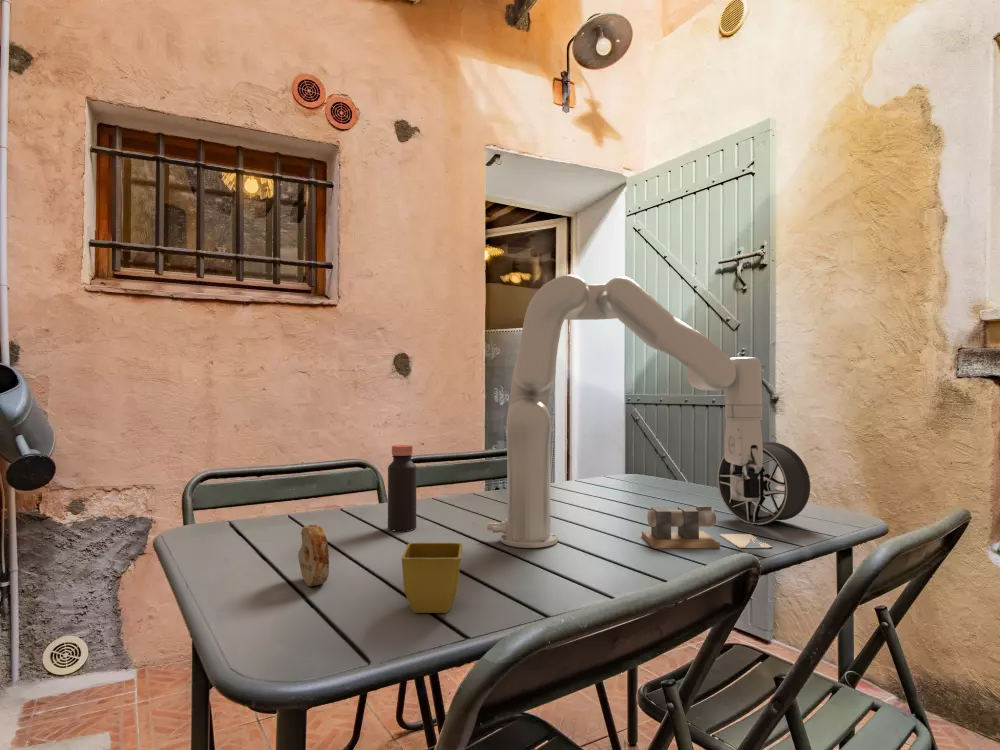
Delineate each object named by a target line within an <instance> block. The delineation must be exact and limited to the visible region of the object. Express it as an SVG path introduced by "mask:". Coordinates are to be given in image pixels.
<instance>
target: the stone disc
mask: <svg viewBox="0 0 1000 750" xmlns="http://www.w3.org/2000/svg"><path fill="white" fill-rule="evenodd" d="M300 535H301V548H300V549H299V550H298V553H297V554H298V556H297V557H298V564H299V568H300V573H301V577H302V579H303V580H304V583H305V582H306V583H307V584H306V583H305V584H306V585H307V586H308V587H315V586H319V585H322V584H324V583H326V582H327V580H328V579H329V575H330V555H329V554H330V553H329V547H328V546H329V545H328V540H327V536H326V532H325V530H324V528H323V526H321V525H318V524H308V525H305V526H303V527H302V528H301V532H300Z"/></svg>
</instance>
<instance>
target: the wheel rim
mask: <svg viewBox="0 0 1000 750" xmlns="http://www.w3.org/2000/svg"><path fill="white" fill-rule="evenodd" d="M762 444H763V454H765V455H766V456H767V457H769V458H768V459H766V460H763V461H762V463H763V465H764V464H765V463H770V462H771V461H774V462H775V464H774V467H773V469H772V470H771V474H769V473H765V472H766V469H765V467H764V466H763V467H762V469H761V472H760V501H754V502H747V501H737V500H733V499H731V488H730V475H731V473H730V468H731V467H730V465H729V462H727V461H726V460H725V458H724V455H723V456H722V458H721V460H720V462H719V465H718V468H717V474H716V475H717V476H716V477H717V478H716V480H717V488H718V492H719V496H720V497H721V500H722V502H723V503H724V505H725V507H726V508H727V510H728V511H729V512H730V513H731V514H732V515H733V516H734V517H735V518H737V519H738V520H740V521H741V522H744V523H746V522H747V523H746V524H749V523H752V524H751V525H753V524H757V525H756V526H760V525H761V526H762V525H767V524H770V523H774V522H775V521H785V520H790V519H792V518H795V517H796V516H798V515H799V514H800V513H801V512H802V511H803V510H804V509H805V507H806V506H807V504H808V501H809V499H810V494H811V479H810V475H809V472H808V471H809V470H808V469H807V466H806V464H805V463H804V461H803V459H802V458H801V457H800V456H799V455H798V454H797V453H796V452H795V451H794V450H793V449H791V448H790V447H789V446H787V445H785V444H782V443H779V442H776V441H774V442H773V441H766V442H765V441H764V442H762ZM747 464H750V463H747ZM748 469H749V471H750V469H751V468H748ZM777 469H780V472H781V474H782V477H783V482H782V481H779V480H777V479H775V478H774V476H775V473H776V471H777ZM764 473H765V474H764ZM744 474H745V473H744ZM771 483H772V484H774V485H777V486H781V487H784V490H776V489H775V490H771V486H770V485H771ZM774 495H783V499H782V502H781V504H780V506H778V504H777V501H776V500H775V497H774ZM766 497H770V499H771V501H772V504H773V506H774V508H775V511H774V512H773V511H772V510H770V509H769V508H767V506H764V505H763V504H764V502H765V501H766ZM762 509H763V510H762Z"/></svg>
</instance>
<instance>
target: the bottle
mask: <svg viewBox="0 0 1000 750" xmlns="http://www.w3.org/2000/svg"><path fill="white" fill-rule="evenodd" d="M391 455H392V456H391V457H392V458H393V459H392V462H391V463H390V464H389V465H388V467H387V529H388V530H389V529H390V530H389V531H391V530H395V531H394V532H396V531H405V532H408V531H407V530H411V529H414V528H415V529H417V466H416V464H415V463H414V462H413V461H412V457H413V445H412V444H395V445H392V446H391ZM415 529H414V530H415ZM411 531H412V530H411Z"/></svg>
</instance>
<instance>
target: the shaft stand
mask: <svg viewBox="0 0 1000 750" xmlns="http://www.w3.org/2000/svg"><path fill="white" fill-rule="evenodd" d="M695 507H696V508H694V507H692V506H677V509H668V508H666V507H665V506H650V509H648V511H647V523H648V526H649V527H650V530H642V531H641V537H642V538H643V539H644V540H645V541H646V542H647V544H649V545H650V546H651V547H652V548H653V549H720V547H721V545H720V543H721V542H720V541H718V540H717V539H715V538H714V537H712V536H711V535H710V534H708V533H707V532H705V531H704V530H700V527H706V528H709V527H713V528H714V527H715V526H716V525H717V515H716V513H715V510H713V509H712V506H711V505H696V506H695ZM672 527H673V528H675V527H676V528H677V530H672Z"/></svg>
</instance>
